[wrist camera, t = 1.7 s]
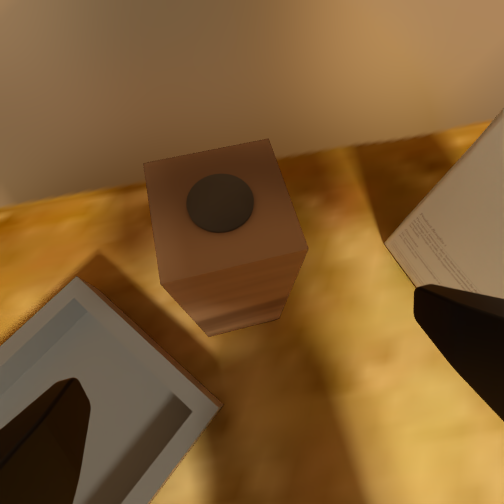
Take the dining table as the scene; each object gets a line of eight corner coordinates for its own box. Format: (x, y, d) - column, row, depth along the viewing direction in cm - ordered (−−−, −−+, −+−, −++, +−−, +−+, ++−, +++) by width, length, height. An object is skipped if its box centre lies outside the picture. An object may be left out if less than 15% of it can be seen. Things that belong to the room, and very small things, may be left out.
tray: (223, 404, 19) (219, 408, 16) (68, 612, 15) (28, 663, 12) (98, 289, 22) (76, 276, 19) (-58, 439, 18) (-113, 449, 15)
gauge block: (278, 318, 21) (309, 246, 10) (208, 337, 21) (159, 282, 10) (260, 255, 23) (268, 135, 12) (195, 270, 23) (142, 160, 11)
